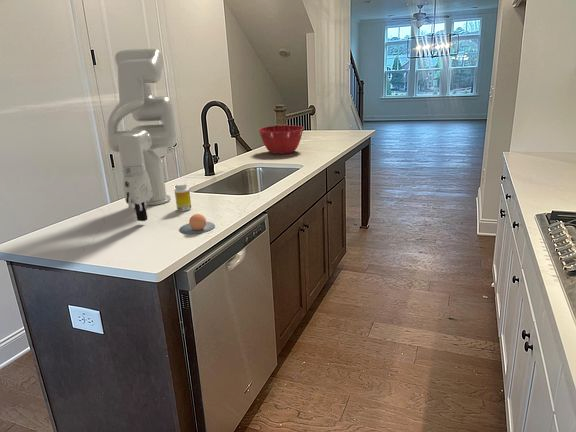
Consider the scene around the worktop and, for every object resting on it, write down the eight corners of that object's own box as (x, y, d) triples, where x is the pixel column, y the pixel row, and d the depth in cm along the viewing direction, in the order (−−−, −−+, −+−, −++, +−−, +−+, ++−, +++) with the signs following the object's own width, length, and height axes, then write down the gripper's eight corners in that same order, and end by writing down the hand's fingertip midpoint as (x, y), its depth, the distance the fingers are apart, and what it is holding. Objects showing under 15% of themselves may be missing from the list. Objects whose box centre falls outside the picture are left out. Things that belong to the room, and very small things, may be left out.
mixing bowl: (313, 152, 276) (312, 127, 271) (273, 158, 262) (271, 132, 258) (290, 147, 299) (289, 124, 294) (252, 152, 286) (250, 128, 281)
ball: (207, 212, 146) (211, 228, 148) (198, 211, 150) (202, 226, 152) (192, 217, 143) (197, 233, 144) (184, 216, 147) (188, 231, 148)
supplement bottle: (193, 209, 171) (190, 184, 168) (179, 212, 169) (175, 186, 165) (189, 206, 176) (185, 181, 173) (175, 209, 173) (171, 183, 170)
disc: (183, 223, 156) (183, 222, 156) (217, 221, 156) (216, 220, 156) (175, 235, 145) (175, 234, 145) (212, 233, 145) (212, 232, 145)
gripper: (129, 175, 143) (138, 227, 149) (156, 165, 157) (163, 214, 162) (110, 174, 146) (120, 226, 151) (138, 165, 159) (146, 213, 165)
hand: (142, 220), depth 157 cm, fingers closed
